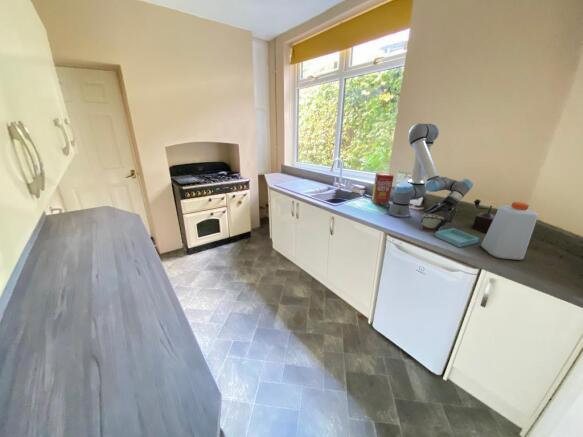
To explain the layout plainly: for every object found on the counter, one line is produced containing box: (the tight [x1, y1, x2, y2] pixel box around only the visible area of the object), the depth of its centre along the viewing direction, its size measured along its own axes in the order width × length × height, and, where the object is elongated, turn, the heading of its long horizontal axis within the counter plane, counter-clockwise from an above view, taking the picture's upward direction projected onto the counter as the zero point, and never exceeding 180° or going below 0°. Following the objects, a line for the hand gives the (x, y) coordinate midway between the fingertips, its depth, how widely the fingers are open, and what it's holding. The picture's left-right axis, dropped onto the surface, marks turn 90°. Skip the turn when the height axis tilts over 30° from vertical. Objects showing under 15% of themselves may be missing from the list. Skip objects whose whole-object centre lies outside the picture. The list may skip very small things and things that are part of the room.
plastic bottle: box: [481, 201, 539, 261], centre depth 121 cm, size 15×15×28 cm
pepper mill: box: [471, 198, 495, 233], centre depth 156 cm, size 16×11×18 cm
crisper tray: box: [434, 227, 480, 248], centre depth 140 cm, size 15×16×3 cm
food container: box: [421, 213, 444, 233], centre depth 152 cm, size 12×6×10 cm, turn 71°
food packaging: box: [371, 172, 394, 205], centre depth 203 cm, size 13×9×25 cm
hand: (429, 225), depth 150 cm, fingers closed on food container, 10 cm apart
